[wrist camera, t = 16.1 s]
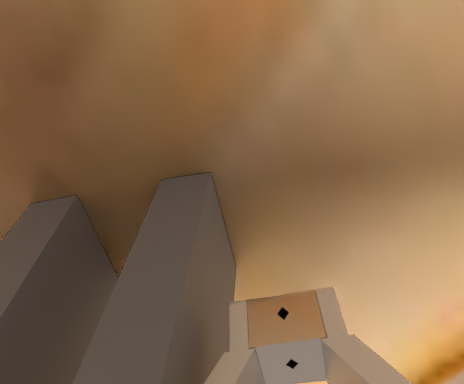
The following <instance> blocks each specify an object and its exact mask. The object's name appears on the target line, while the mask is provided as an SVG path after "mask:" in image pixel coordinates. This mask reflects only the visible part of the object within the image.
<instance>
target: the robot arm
mask: <svg viewBox="0 0 464 384" xmlns="http://www.w3.org/2000/svg"><path fill="white" fill-rule="evenodd" d="M326 380H327V382H328V384H412V383H411V382H410V381H409V380H408V379H406V378H405V377H404V376H403V375H402V374H400V373H399V372H398V371H397V370H396V369H394V368H393V367H392V366H391V365H390V364H388V363H387V362H386V361H385V360H384V359H383V358H381V357H380V356H379V355H378V354H377V353H375V352H374V351H373V350H372V349H371V348H369V347H368V346H367V345H366V344H365V343H363V342H362V341H361V340H360V339H359V338H357V337H356V336H355V335H354V334H353V335H348V333H347V329H346V326H345V323H344V320H343V317H342V313H341V310H340V307H339V304H338V301H337V297H336V294H335V291H334V289H333V288H332V287H328V288H322V289H315V291H314V290H308V291H302V292H296V293H290V294H284V295H281V296H273V297H265V298H257V299H249V300H243V301H236V302H230V305H229V352H224V353H223V355H222V356H221V358H220V359H219V361H218V363H217V364H216V366H215V367H214V369H213V370H212V372H211V373H210V375H209V376H208V378H207V380H206V381H205V383H204V384H296V383H306V382H316V381H326Z"/></svg>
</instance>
